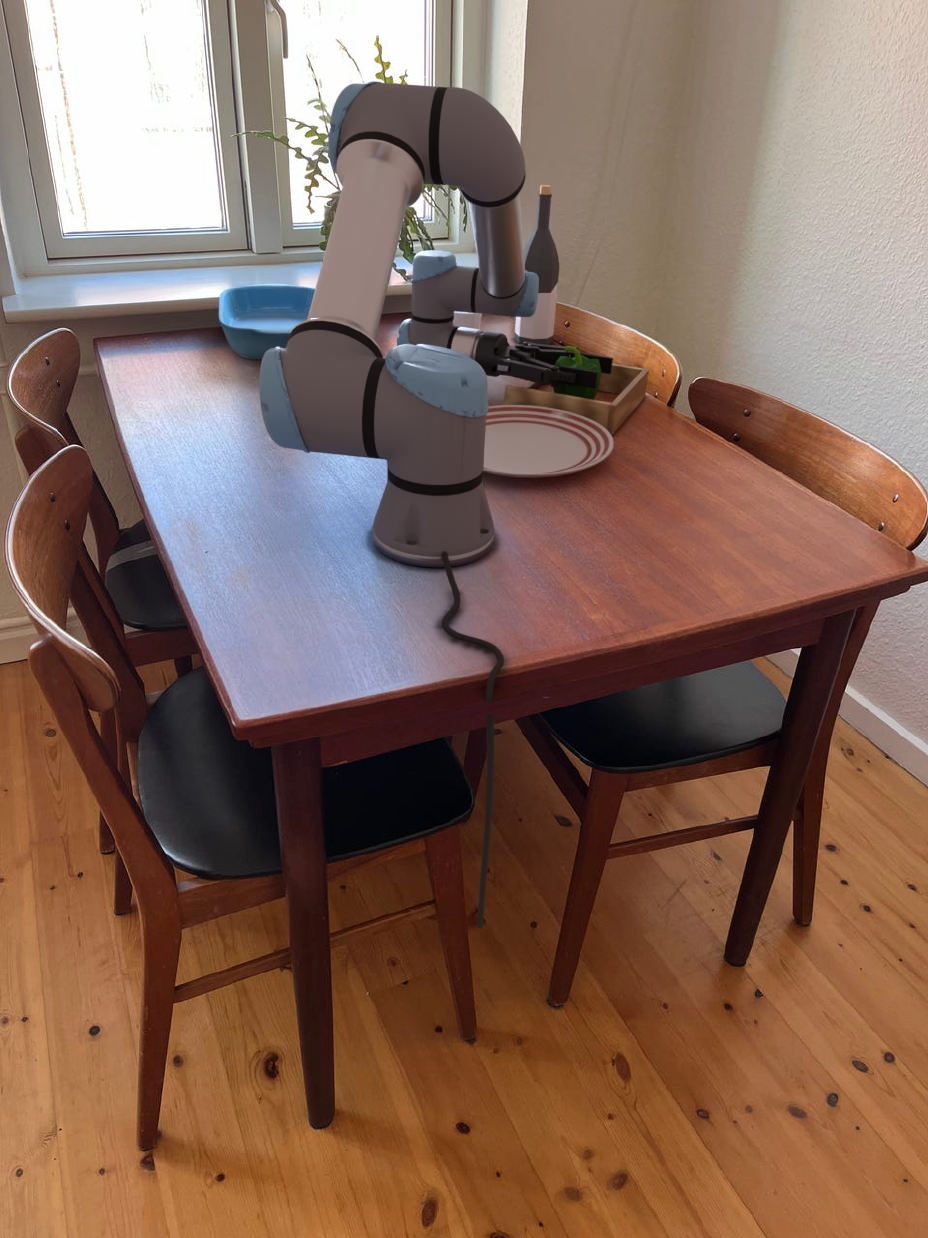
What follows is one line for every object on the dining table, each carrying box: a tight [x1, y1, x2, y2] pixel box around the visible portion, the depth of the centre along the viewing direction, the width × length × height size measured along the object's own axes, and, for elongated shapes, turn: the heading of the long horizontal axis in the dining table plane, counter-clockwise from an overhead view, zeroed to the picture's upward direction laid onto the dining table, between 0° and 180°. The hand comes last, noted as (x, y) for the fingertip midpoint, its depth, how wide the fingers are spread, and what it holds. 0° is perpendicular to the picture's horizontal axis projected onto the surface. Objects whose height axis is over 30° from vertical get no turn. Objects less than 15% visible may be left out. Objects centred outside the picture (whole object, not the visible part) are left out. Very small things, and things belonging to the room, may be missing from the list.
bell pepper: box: [552, 345, 601, 400], centre depth 161 cm, size 8×8×10 cm
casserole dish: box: [218, 283, 316, 360], centre depth 188 cm, size 37×22×7 cm, turn 13°
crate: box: [501, 363, 650, 436], centre depth 162 cm, size 20×22×5 cm
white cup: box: [453, 311, 483, 330], centre depth 191 cm, size 7×7×7 cm
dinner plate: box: [483, 404, 615, 479], centre depth 142 cm, size 27×27×3 cm
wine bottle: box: [514, 184, 560, 345], centre depth 189 cm, size 8×8×30 cm
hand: (604, 372), depth 158 cm, fingers closed on bell pepper, 8 cm apart
